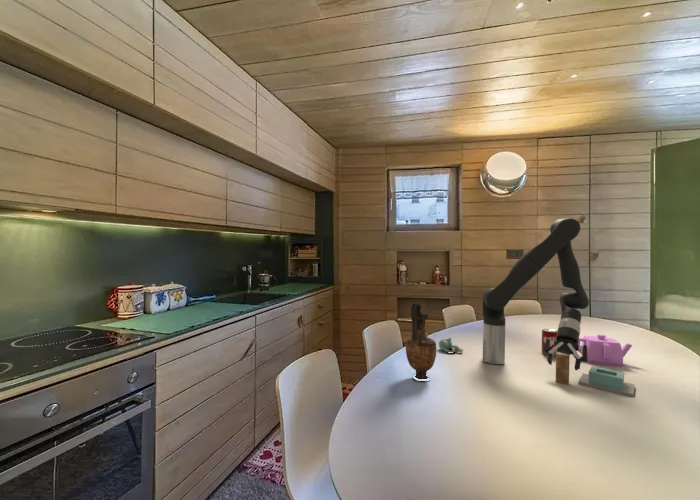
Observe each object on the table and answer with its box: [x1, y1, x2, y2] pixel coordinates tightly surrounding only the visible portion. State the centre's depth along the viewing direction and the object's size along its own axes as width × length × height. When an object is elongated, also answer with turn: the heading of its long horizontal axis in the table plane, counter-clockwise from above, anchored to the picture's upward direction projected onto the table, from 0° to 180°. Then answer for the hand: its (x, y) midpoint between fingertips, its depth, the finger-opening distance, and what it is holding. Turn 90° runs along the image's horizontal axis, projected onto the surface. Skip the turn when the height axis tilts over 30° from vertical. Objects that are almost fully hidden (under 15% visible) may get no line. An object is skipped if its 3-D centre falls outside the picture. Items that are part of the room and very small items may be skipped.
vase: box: [405, 301, 437, 379], centre depth 129 cm, size 12×12×30 cm
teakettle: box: [576, 333, 633, 368], centre depth 155 cm, size 17×17×12 cm
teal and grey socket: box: [577, 365, 636, 398], centre depth 126 cm, size 16×12×5 cm
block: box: [555, 352, 571, 386], centre depth 128 cm, size 4×2×11 cm, turn 48°
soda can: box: [541, 328, 558, 358], centre depth 163 cm, size 7×7×12 cm
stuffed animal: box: [438, 337, 464, 354], centre depth 166 cm, size 11×7×12 cm
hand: (562, 366), depth 128 cm, fingers open, 8 cm apart
